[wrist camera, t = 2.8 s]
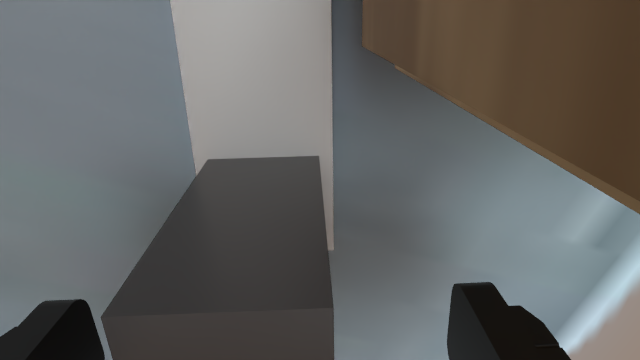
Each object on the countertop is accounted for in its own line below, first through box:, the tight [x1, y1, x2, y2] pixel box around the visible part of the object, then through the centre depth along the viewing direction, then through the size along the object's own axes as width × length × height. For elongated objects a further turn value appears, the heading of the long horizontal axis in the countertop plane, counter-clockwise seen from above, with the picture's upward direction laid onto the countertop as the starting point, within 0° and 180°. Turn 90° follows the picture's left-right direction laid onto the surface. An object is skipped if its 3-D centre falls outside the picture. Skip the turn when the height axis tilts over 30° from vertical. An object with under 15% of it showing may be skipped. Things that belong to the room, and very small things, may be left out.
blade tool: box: [101, 0, 334, 360], centre depth 10 cm, size 5×14×9 cm, turn 1°
